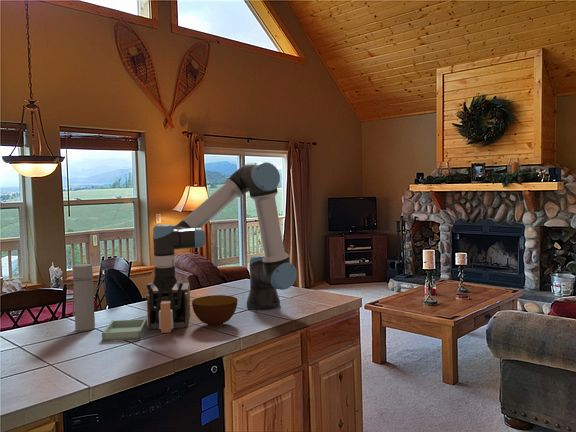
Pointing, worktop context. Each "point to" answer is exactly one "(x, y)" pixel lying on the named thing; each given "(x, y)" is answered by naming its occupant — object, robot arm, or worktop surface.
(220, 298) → the bowl
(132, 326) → the tray
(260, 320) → the worktop surface
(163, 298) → the mug
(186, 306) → the bay
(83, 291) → the water bottle
